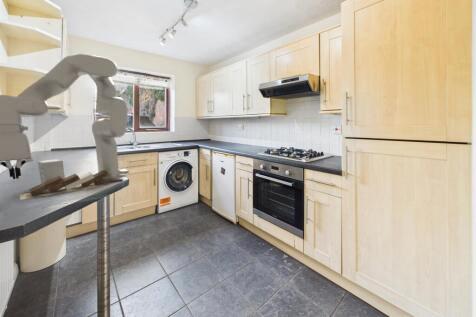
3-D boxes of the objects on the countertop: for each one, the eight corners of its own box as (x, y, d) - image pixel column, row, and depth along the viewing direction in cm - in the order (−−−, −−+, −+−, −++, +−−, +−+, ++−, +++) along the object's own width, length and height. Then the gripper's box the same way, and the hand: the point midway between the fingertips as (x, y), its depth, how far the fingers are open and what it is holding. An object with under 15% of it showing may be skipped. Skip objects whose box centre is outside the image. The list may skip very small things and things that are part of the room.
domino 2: (65, 188, 98) (91, 175, 105) (67, 190, 95) (94, 177, 101) (62, 184, 97) (89, 172, 104) (64, 186, 94) (92, 173, 101)
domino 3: (81, 185, 103) (105, 173, 109) (84, 187, 99) (109, 174, 106) (79, 181, 102) (103, 169, 109) (82, 183, 98) (107, 171, 105)
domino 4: (94, 183, 106) (118, 181, 114) (97, 185, 103) (122, 183, 111) (94, 179, 106) (119, 177, 114) (97, 180, 102) (122, 179, 110)
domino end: (31, 193, 90) (62, 179, 97) (32, 196, 87) (64, 181, 94) (28, 189, 90) (59, 175, 96) (29, 192, 86) (61, 177, 93)
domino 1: (49, 190, 94) (77, 177, 101) (51, 193, 91) (80, 179, 97) (46, 186, 94) (74, 173, 100) (48, 189, 90) (77, 175, 97)
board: (94, 184, 108) (94, 182, 108) (99, 188, 102) (99, 185, 102) (19, 197, 89) (19, 194, 89) (20, 202, 83) (20, 199, 83)
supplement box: (60, 184, 108) (57, 158, 106) (66, 186, 104) (63, 160, 102) (41, 188, 102) (37, 160, 100) (46, 190, 98) (42, 162, 96)
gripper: (35, 129, 90) (40, 174, 93) (-22, 129, 79) (-14, 180, 82) (37, 129, 85) (43, 176, 88) (-23, 130, 74) (-15, 183, 77)
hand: (15, 178), depth 85 cm, fingers closed
